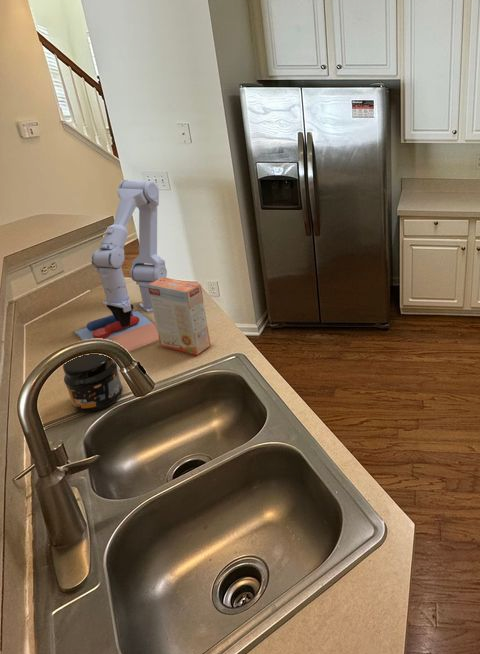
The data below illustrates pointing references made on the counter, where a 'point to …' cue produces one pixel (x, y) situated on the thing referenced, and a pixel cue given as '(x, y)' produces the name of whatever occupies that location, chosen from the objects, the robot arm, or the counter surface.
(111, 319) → the blue spoon
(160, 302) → the cracker box
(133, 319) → the red spoon
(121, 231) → the robot arm
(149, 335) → the sorting mat
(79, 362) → the supplement container
